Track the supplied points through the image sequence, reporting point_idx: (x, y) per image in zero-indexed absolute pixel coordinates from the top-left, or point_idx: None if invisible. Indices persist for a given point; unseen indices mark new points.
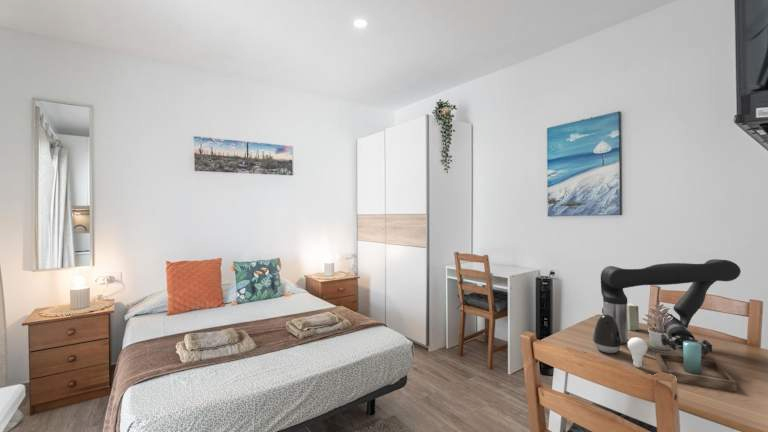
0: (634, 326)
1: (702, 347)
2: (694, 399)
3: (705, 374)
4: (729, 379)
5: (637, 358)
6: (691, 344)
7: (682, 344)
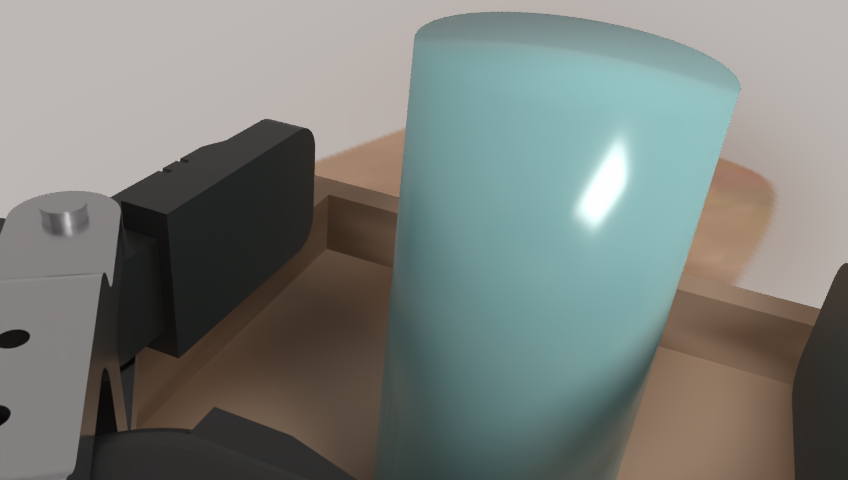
0: None
1: (224, 211)
2: (710, 204)
3: (353, 440)
4: None
5: None
6: (611, 39)
7: None
